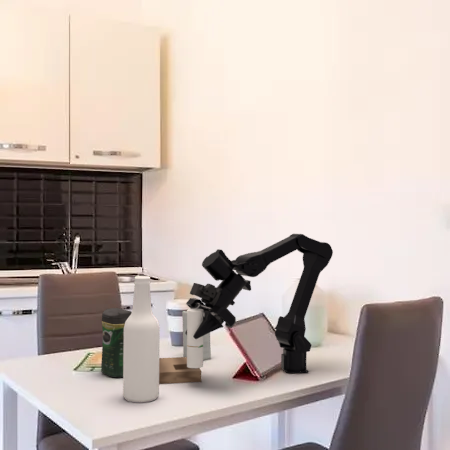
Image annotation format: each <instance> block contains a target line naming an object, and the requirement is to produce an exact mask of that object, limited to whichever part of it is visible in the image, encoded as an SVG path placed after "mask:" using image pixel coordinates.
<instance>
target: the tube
mask: <svg viewBox="0 0 450 450" xmlns="http://www.w3.org/2000/svg"><path fill="white" fill-rule="evenodd" d="M186 311H187V367H188V368H200V369H202V368H203V367H204V360H203V336H202V337H200V338H198V339H195V338H194V337H193V336H194V334H195V332H196V331H197V329H198V328H199V326H200V325H201V323H202V322H203V309H191V308H188V309H187V310H186Z"/></svg>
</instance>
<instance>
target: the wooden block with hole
mask: <svg viewBox="0 0 450 450" xmlns="http://www.w3.org/2000/svg"><path fill="white" fill-rule="evenodd" d="M201 369H202V368H188V367H187V357H184V356H183V357H182V356H178V357H159V385H160V384H161V385H163V384H165V385H167V384H180V383H181V384H183V383H184V384H185V383H201V382H202V370H201Z"/></svg>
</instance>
